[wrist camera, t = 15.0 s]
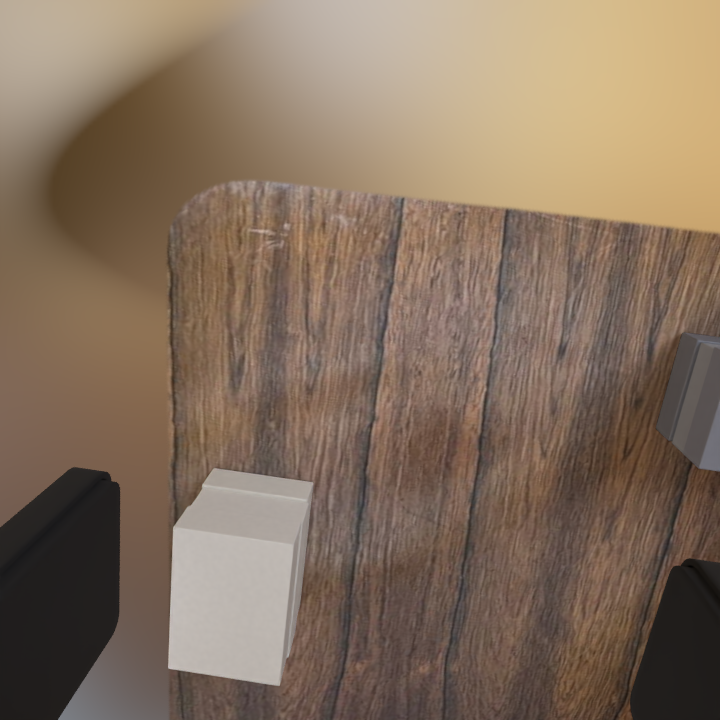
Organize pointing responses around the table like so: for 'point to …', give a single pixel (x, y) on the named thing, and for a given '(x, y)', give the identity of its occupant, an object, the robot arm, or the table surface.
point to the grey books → (694, 401)
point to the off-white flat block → (232, 594)
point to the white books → (263, 509)
